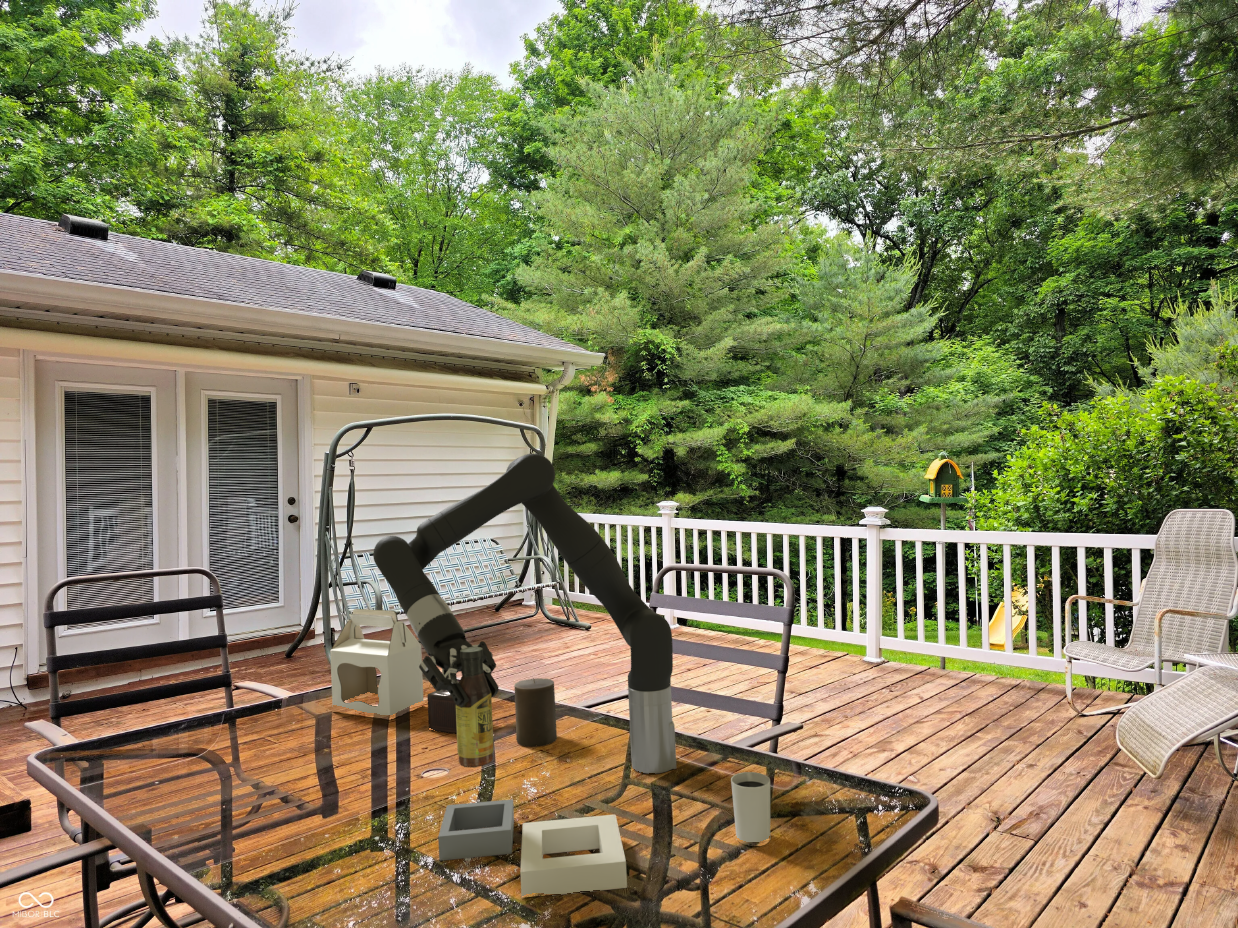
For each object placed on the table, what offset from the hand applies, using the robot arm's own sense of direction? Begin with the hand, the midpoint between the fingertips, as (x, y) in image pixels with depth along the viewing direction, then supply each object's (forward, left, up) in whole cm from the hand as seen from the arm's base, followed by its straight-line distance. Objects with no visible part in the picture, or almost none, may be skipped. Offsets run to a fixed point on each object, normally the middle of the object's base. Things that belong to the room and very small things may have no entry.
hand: (480, 699), depth 131 cm
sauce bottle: (+1, -1, -12) cm, 12 cm away
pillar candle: (-9, -49, -25) cm, 56 cm away
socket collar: (-15, +11, -25) cm, 31 cm away
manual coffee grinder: (+10, -66, -25) cm, 72 cm away
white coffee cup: (-46, +8, -25) cm, 53 cm away
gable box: (+36, -85, -25) cm, 96 cm away
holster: (+1, -1, -25) cm, 25 cm away
